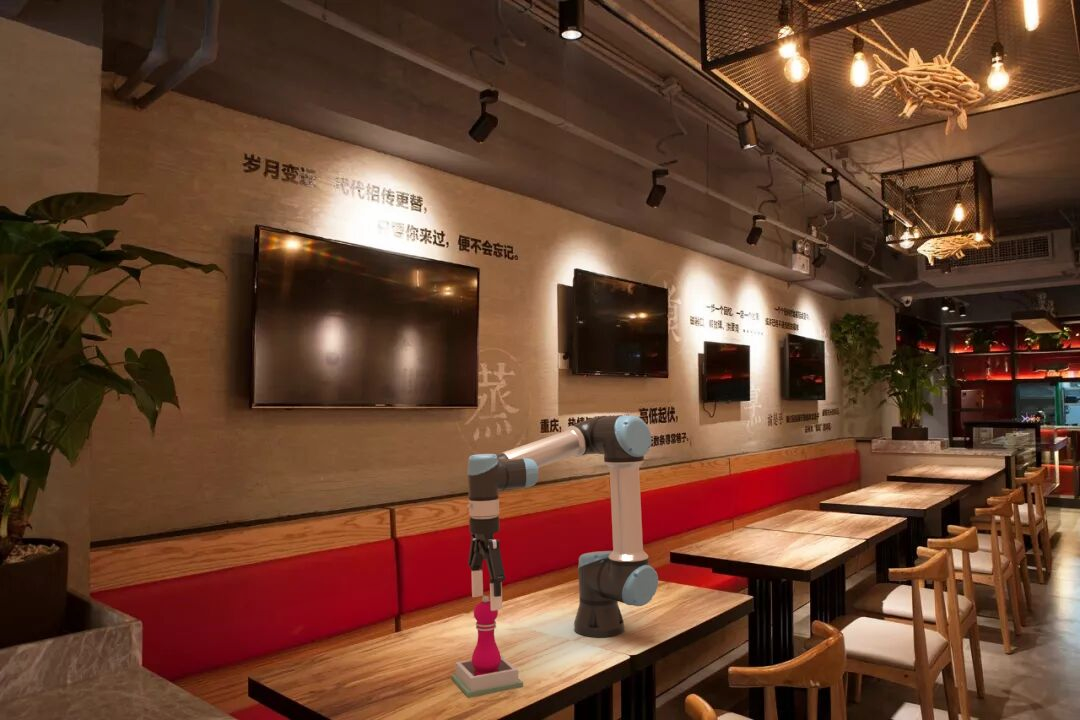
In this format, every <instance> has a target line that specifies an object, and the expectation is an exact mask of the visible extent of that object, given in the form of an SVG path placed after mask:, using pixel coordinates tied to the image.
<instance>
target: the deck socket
mask: <svg viewBox="0 0 1080 720" xmlns="http://www.w3.org/2000/svg"><path fill="white" fill-rule="evenodd" d="M497 669H498V670H499V672H494V673H489V674H483V675H478V676H474V671H475V670H476V669H475V668H474V667H473V665H472V659H467V660H461V661H456V662H455V673H454V674H453V673H452V674H450V675H451V677H450V678H451V680H452V681H453V682H454V683H455V685H456V686H457V688H459V689H460V690H461V691H462V693H463V694H464V695H465V696H466V697H467V698H473V697H478V696H483V695H487V694H493V693H497V692H502V691H503V692H504V691H509V690H514V689H517V688H518V689H519V688H523V687H524V682H523V681H522V680H521V679H519V669H518V668H517V667H516V666H515V665H514V664H512V663H511V662H509V661H508V659H506V658H505V657H504V656H503V655H501V663H500V665H499V666H498V668H497Z"/></svg>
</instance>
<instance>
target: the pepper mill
mask: <svg viewBox="0 0 1080 720" xmlns="http://www.w3.org/2000/svg"><path fill="white" fill-rule="evenodd" d="M481 597H482V598H481V602H479V603H477V604H476V605H475V607H474V610H473V617H474V619H475V620H476V622H475V629H476V630H477V643H476V645H475V647H474V650H473V652H472V657H471V660H472V665H473V667H474V668H475V669H476V670H475V671H474V676H478V675H483V674H489V673H494V672H499V670H498V669H497V668H498V666H499V665H500V663H501V656H502V654H501V652H500V650H499V647H498V645H497V643H496V639H495V629H496V628H497V622H496V619H497V618H498V615H499V610H494V611H491V601H490V597H489V595H483V596H481Z"/></svg>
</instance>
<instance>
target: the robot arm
mask: <svg viewBox="0 0 1080 720" xmlns="http://www.w3.org/2000/svg"><path fill="white" fill-rule="evenodd" d="M651 446H652V433H651V430H650V428H649V426H648V424H647V423H646V422H645V421H644V420H643V419H642V418H641V417H638V416H633V415H627V414H624V415H600V416H595V417H591V418H589V419H586V420H583V421H581V422H577V423H575V424H572V425H570V426H567V427H566V428H565V429H564V431H563V432H559V433H557V434H553V435H550V436H548V437H543V438H542V439H539V440H535V441H532V442H530V443H527V444H524V445H520V446H518V447H515V448H512V449H509V450H505V451H503V452H500V453H498V454H495V453H479V454H473V455H470V456H469V457H468V460H467V472H466V473H467V484H468V485H467V486H468V487H467V489H468V504H467V505H466V506H467V509H468V515H469V516H470V517H469V519H468V520H469V521H468V522H469V523H468V524H469V527H468V528H469V532H470V534H471V535H470V536H471V537H470V545H469V546H470V547H469V548H470V549H469V555H468V561H467V566H468V567H470V570H471V594H472V595H471V597H472V598H477V597H478V598H479V597H483V596H484V583H483V581H484V580H483V569H484V566H483V562H484V559H485V563H486V566H487V570H488V574H489V577H490V580H489V582H488V584H489V591H490V592H489V593H490V595H489V596H490V597H489V602H491V611H494V610H498V611H499V610H503V587H502V586H503V585H502V583H503V582H505V581H506V573H505V568H504V564H503V558H502V555H501V554H502V553H501V549H500V547H501V546H500V539H499V538H498V539H495V538H494V534H495V533H499V531H500V517H499V516H498V515H499V514H500V498H499V493H500V491H505V490H515V489H527V488H530V487H533V486H535V485H536V484H537V483H538V480H539V476H540V474H539V468H542V467H546V466H548V465H550V464H553V463H556V462H558V461H561V460H564V459H567V458H570V457H572V456H573V457H575V458H579V457H582V456H585V455H603V463H604V464H605V465H606V466H607V467H608V468H609V483H610V484H609V485H610V505H611V506H610V507H611V525H612V528H611V529H612V532H611V533H612V548H613V549H612V550H603V551H602V550H601V551H592V552H587V553H586V552H585V553H582V554H581V555H580V556H579V557H578V567H577V571H578V591H579V592H578V595H579V603H578V608H577V611H576V615H575V618H574V623H573V625H574V626H573V627H574V628H573V631H574V632H576V634H579V635H580V636H584V637H585V636H586V637H591V638H606V637H607V638H608V637H613V636H619V635H620V634H623V632H624V631H625V621H624V618H623V616H622V613H621V609H620V607H619V604H618V603H621V604H622V603H623V604H625V605H628V606H634V607H642V606H646V605H647V604H648V603H649V602H651V601H652V599H653V597H654V596H655V594H656V593H657V589H658V588H659V587H658V586H659V576H658V573H657V571H656V570H655V568H654V567H652V566H651V565H650V562H649V554H647V552H645V550H644V544H643V525H642V524H643V523H642V505H641V503H642V502H641V501H642V500H641V481H640V478H641V477H640V467H641V465H642V464H643V463H644V461H645V458H644V457H645V455H646V454H648V452H649V450H650V448H651Z"/></svg>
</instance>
